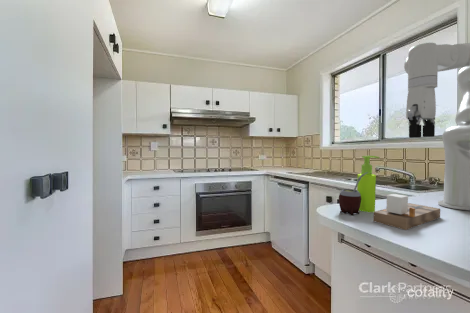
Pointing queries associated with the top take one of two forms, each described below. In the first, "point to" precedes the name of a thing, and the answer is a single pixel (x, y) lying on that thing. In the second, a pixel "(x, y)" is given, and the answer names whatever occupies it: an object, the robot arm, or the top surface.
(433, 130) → the robot arm
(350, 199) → the mate gourd
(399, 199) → the fader knob
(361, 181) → the soap dispenser
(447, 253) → the top surface
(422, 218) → the fader console
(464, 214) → the top surface
